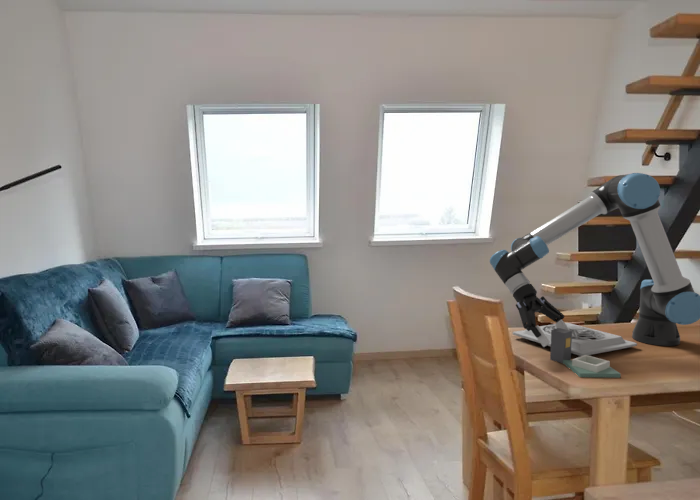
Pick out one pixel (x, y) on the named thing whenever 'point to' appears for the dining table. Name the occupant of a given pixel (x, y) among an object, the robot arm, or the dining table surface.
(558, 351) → the plug
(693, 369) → the dining table surface
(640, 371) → the dining table surface
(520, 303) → the robot arm
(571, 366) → the header board
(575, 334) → the ventilation fan
